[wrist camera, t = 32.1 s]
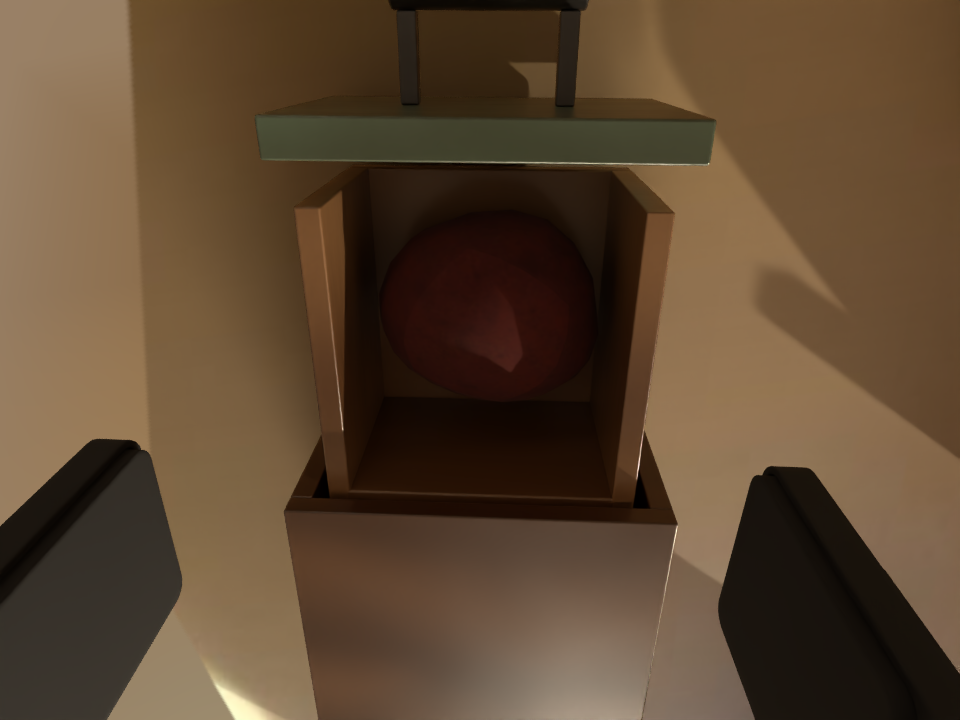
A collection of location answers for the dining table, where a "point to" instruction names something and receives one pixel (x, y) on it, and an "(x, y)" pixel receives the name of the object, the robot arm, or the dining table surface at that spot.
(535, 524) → the cabinet
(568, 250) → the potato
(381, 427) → the drawer
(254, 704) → the dining table surface
